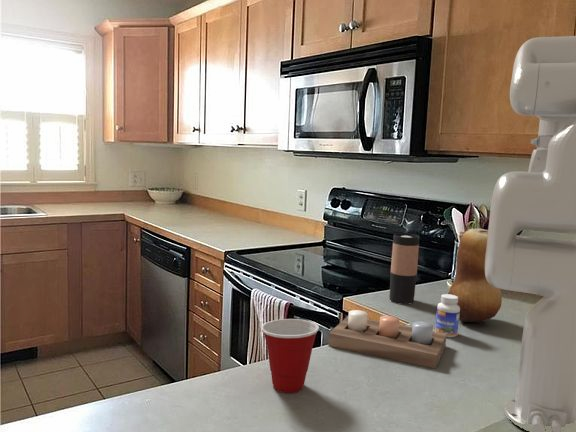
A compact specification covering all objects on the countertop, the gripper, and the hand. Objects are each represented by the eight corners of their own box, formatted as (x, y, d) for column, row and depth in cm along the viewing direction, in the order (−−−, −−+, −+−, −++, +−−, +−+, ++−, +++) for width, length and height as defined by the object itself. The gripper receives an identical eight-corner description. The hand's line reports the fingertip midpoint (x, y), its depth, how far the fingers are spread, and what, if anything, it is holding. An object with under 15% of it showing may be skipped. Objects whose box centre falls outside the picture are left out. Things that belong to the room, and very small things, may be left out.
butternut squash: (492, 334, 130) (502, 236, 126) (439, 322, 137) (448, 229, 134) (504, 320, 141) (513, 230, 138) (455, 309, 149) (462, 224, 145)
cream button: (363, 334, 119) (364, 317, 119) (345, 330, 121) (346, 314, 120) (368, 328, 123) (369, 312, 122) (351, 324, 125) (352, 308, 124)
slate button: (429, 347, 113) (431, 329, 112) (409, 343, 115) (410, 325, 114) (432, 340, 117) (434, 323, 116) (413, 336, 119) (414, 320, 118)
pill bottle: (432, 334, 128) (436, 296, 126) (437, 328, 132) (440, 291, 131) (455, 339, 125) (459, 300, 124) (459, 332, 130) (462, 295, 129)
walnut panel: (436, 368, 108) (437, 354, 108) (328, 345, 118) (329, 333, 117) (445, 346, 121) (446, 333, 120) (347, 327, 130) (348, 315, 130)
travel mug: (383, 298, 157) (388, 233, 154) (403, 296, 160) (408, 232, 157) (398, 305, 150) (404, 238, 147) (419, 303, 153) (425, 237, 151)
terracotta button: (395, 340, 116) (396, 323, 115) (376, 336, 118) (377, 319, 117) (399, 334, 120) (401, 317, 119) (381, 330, 122) (382, 314, 121)
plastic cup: (291, 368, 105) (294, 311, 103) (327, 389, 97) (331, 328, 95) (247, 381, 98) (249, 321, 97) (282, 405, 90) (285, 340, 88)
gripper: (515, 142, 122) (508, 214, 125) (599, 145, 116) (589, 221, 118) (514, 143, 129) (507, 211, 131) (593, 146, 123) (584, 217, 125)
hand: (546, 215), depth 125 cm, fingers open, 9 cm apart
